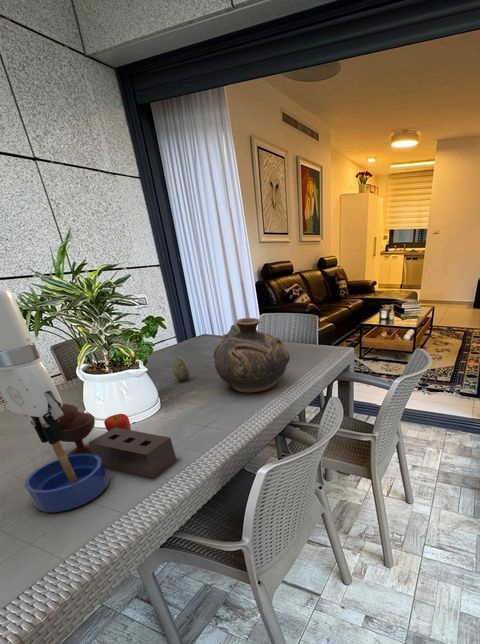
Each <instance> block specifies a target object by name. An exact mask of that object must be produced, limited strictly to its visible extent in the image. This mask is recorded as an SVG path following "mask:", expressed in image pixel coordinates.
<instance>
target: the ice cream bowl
mask: <svg viewBox="0 0 480 644" xmlns="http://www.w3.org/2000/svg"><path fill="white" fill-rule="evenodd" d="M60 409H61V411H62V412H63V413H64V416H63V417H60V418H59V420H60V422H59V423H60V426H61V428H62V430H63V432H64V434H65V438H64V439H63V440H61V441H60V442H63V443H64V442H65V443H75V446H76V448H75V449H74V450H72V452H71V454H70V455H75V454H93V453H92V450H91V448H90V445H85V444H84V442H83V441H84V440H83V439H86V438H87V437H88V436H89V435H90V433H91V432H92V430H94V428H95V425H96V424H95V423H96V420H95V416H94V415H93V414H91V412H83V411H79V410H78V407H77V406H75V405H73V404H70V403H62V408H60ZM49 415H51V414H48V416H49Z"/></svg>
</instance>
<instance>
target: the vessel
mask: <svg viewBox="0 0 480 644" xmlns="http://www.w3.org/2000/svg"><path fill="white" fill-rule="evenodd" d="M234 321H235V322H234V323H235V324H232V325H231V326H230V329H229V330H228V332H227V333H224V334H223V335H222V336H221V340H220V341H219V342H218V344H217V345H216V347H214V351H213V359H214V367H215V370H216V373H217V374H218V376H219V377H220V378H221V379H222V380H223V381H224V382H225V383H226V384H228V385H230V386H232V388H233V389H234V390H235V391H237V392H241V393H259V392H263V391H266V390H270V389H271V388H273V387H274V386H275V385H276V383H277V381H278V380H279V379H280V378H281V377H282V376H283V375H284V373H285V371H286V369H287V366H288V364H289V362H290V358H291V357H290V354H289V351H288V349H287V345H286V344H285V343H284V341H282V340H281V339H280V338H278V337H274V336H272V334H269V333H265V332H263V331H262V332H259V331H258V329H257V328H258V325H259V324H260V323H261V320H260V319H259V318H256V317H244V318H239V319H236V320H234Z"/></svg>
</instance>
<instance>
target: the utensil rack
mask: <svg viewBox="0 0 480 644" xmlns="http://www.w3.org/2000/svg"><path fill="white" fill-rule="evenodd" d="M88 446H90V448H91V450H92V453H91V454H94V455H97V456H98V457H100V458H101V460H102V463H103V465H104V468H106V469H107V468H108V469H112V470H116V471H120V472H124V473H129V474H133V475H136V476H140V477H145V478H149V479H155V478H157V477H158V476H159V475H161V474H162V473H163V472H164V471H166V470H167V469H169V467H171V466H172V465H173V464H174V463H175V462H177V456H176V453H175V449H174V445H173V441H172V439H171V436H170V437H169V436H164V435H158V434H153V433H148V432H143V431H136V430H127V429H121V428H116V427H115V428H113V429H111V430H110V431H106V432H104V433H103V434H101V435H99V436H96V438H94V439H92V440H90V441H88Z"/></svg>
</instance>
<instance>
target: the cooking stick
mask: <svg viewBox="0 0 480 644" xmlns="http://www.w3.org/2000/svg"><path fill="white" fill-rule="evenodd" d="M47 416H48V415H46V416H45V417H46V418H47ZM39 421H40V423H41V420H40V418H39ZM41 425H42V423H41ZM42 427H44V426H43V425H42ZM50 445H51V447H52V450H53V451H54V453H55V456H56V459H58V460H59V462H60V464H61V466H62V468H63V470H64V472H65V474H66V476H67V478H68V480H69V482H70V484H73V483H75V482H77V481H78V479H77V477H76V475H75V473H74V471H73V468H72V466H71V464H70V462H69V460H68V458H67V456H68V455H67V454H66V451H65V449H64V447H63V445H62V444H61V441H59V442H57V443H55V444H53V445H52V444H50Z"/></svg>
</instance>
